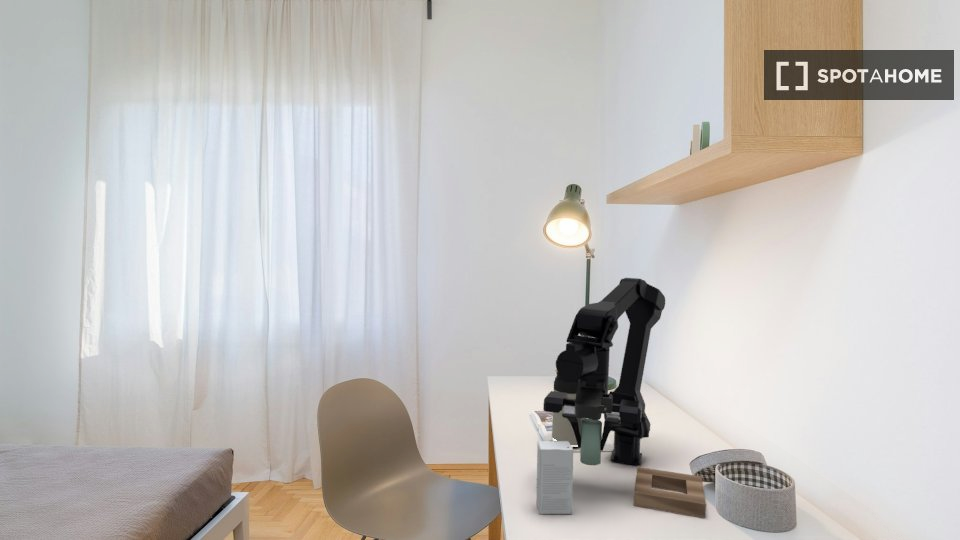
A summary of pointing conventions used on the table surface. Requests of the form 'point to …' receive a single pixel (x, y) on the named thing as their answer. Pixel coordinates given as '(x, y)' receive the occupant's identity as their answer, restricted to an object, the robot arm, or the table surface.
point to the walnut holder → (668, 500)
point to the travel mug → (560, 424)
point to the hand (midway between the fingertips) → (590, 448)
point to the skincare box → (554, 477)
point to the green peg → (591, 442)
